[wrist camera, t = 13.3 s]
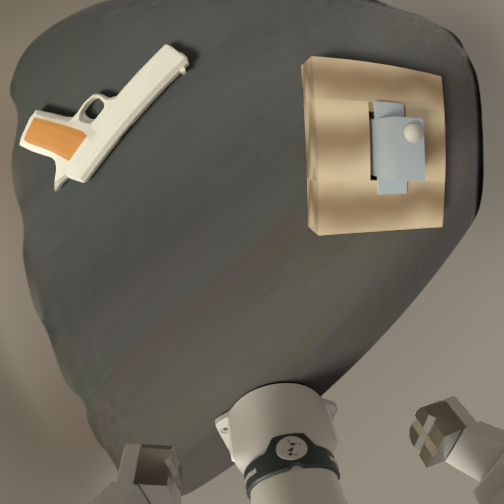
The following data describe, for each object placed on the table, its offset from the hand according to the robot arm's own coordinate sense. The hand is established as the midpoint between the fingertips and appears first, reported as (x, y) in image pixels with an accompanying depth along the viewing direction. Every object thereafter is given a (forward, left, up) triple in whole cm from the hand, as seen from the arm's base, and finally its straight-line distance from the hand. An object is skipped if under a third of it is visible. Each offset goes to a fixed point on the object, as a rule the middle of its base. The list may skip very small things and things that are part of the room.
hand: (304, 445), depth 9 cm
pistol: (+16, +15, -28) cm, 36 cm away
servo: (+9, -16, -28) cm, 33 cm away
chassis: (+9, -15, -28) cm, 33 cm away
